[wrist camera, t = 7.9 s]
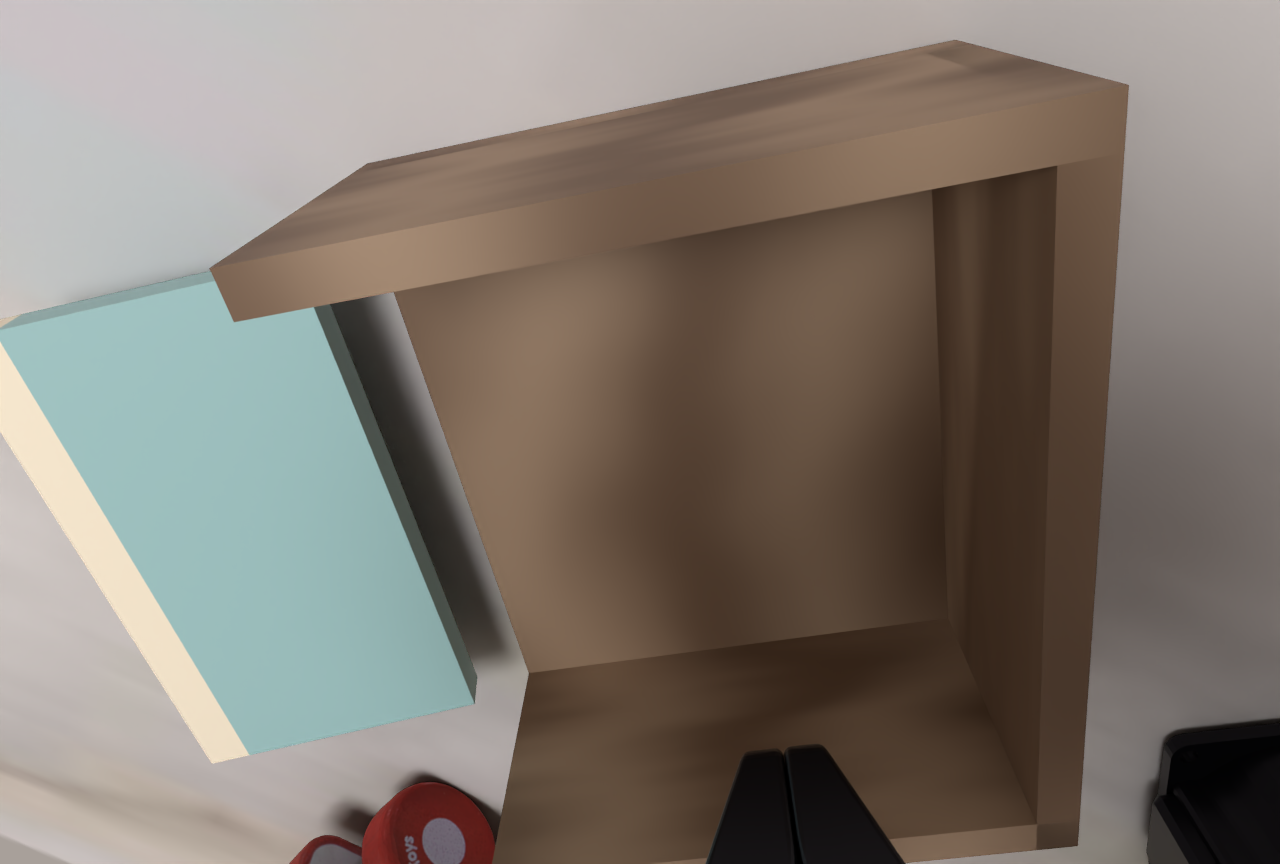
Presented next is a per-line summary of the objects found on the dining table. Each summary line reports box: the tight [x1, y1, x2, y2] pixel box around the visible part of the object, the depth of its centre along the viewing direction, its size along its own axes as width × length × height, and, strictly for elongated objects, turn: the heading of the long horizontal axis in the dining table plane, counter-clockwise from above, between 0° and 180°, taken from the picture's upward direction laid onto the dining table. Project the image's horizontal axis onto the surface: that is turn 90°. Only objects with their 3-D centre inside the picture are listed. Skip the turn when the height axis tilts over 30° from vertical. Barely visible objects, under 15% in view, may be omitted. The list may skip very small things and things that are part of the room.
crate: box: [209, 40, 1129, 864], centre depth 17 cm, size 12×14×7 cm
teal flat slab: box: [0, 271, 477, 764], centre depth 20 cm, size 1×12×7 cm
